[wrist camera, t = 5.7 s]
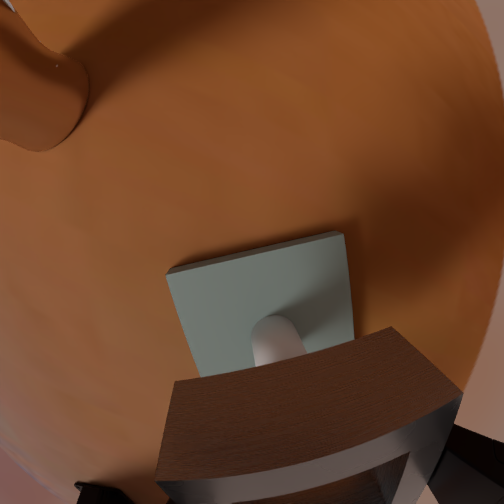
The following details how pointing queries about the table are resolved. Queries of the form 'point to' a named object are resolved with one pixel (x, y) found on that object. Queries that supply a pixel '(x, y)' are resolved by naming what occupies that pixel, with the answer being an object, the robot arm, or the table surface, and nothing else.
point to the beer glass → (36, 87)
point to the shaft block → (265, 303)
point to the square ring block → (311, 428)
